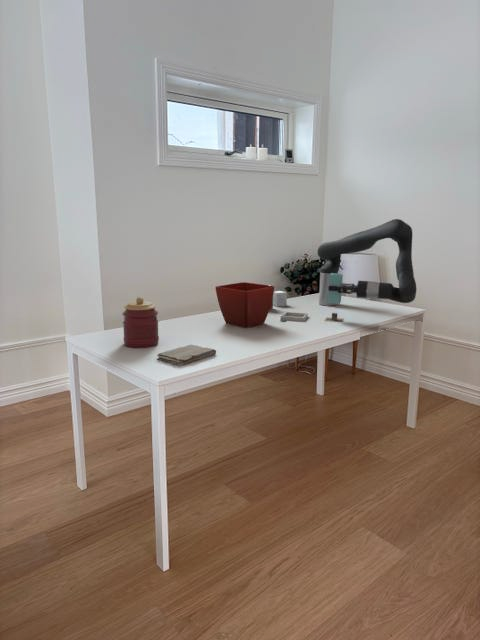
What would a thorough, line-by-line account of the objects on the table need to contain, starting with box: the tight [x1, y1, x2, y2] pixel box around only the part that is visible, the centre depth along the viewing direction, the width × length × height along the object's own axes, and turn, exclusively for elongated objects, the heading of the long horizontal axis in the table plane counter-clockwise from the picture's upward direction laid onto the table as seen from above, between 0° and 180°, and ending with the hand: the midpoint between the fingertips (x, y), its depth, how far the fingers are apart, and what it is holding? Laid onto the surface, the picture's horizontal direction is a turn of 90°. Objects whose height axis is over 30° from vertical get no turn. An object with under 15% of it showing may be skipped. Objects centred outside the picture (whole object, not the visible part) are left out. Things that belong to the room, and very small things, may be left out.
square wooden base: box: [324, 312, 345, 323], centre depth 218 cm, size 8×8×4 cm
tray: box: [280, 311, 309, 323], centre depth 221 cm, size 11×11×2 cm
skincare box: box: [273, 290, 288, 308], centre depth 254 cm, size 6×6×7 cm
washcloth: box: [156, 344, 217, 367], centre depth 162 cm, size 12×18×3 cm, turn 142°
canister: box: [121, 296, 160, 349], centre depth 177 cm, size 13×13×18 cm
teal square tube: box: [328, 272, 344, 305], centre depth 215 cm, size 5×5×13 cm
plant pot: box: [214, 281, 275, 328], centre depth 211 cm, size 19×19×17 cm
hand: (329, 287), depth 216 cm, fingers closed on teal square tube, 5 cm apart
